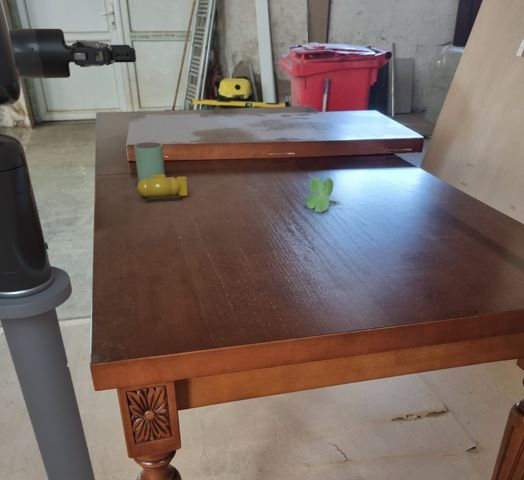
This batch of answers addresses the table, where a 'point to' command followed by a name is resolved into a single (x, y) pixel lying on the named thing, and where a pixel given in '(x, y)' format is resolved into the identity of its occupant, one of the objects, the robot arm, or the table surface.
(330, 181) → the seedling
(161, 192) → the yellow toy submarine
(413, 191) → the table surface
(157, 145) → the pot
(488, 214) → the table surface
